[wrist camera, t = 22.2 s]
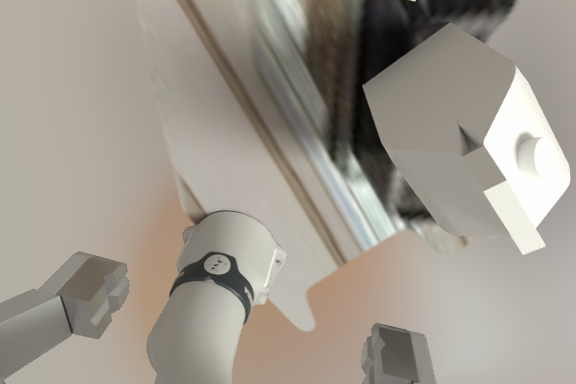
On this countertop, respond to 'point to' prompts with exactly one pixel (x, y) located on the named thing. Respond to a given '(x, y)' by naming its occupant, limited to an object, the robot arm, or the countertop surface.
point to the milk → (469, 138)
